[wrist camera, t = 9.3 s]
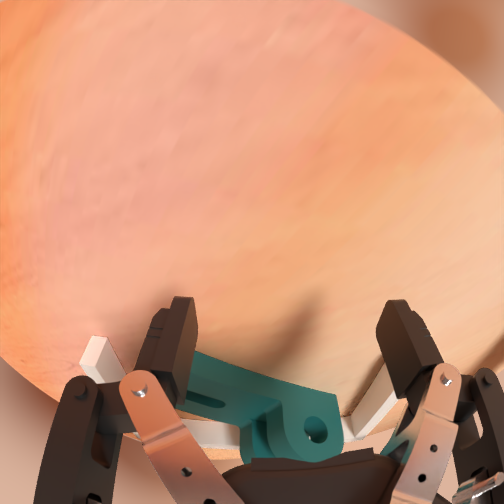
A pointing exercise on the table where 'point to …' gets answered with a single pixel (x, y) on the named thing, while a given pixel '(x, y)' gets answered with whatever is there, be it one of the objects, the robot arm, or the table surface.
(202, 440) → the white open frame
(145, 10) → the table surface
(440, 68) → the table surface
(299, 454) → the bracket
